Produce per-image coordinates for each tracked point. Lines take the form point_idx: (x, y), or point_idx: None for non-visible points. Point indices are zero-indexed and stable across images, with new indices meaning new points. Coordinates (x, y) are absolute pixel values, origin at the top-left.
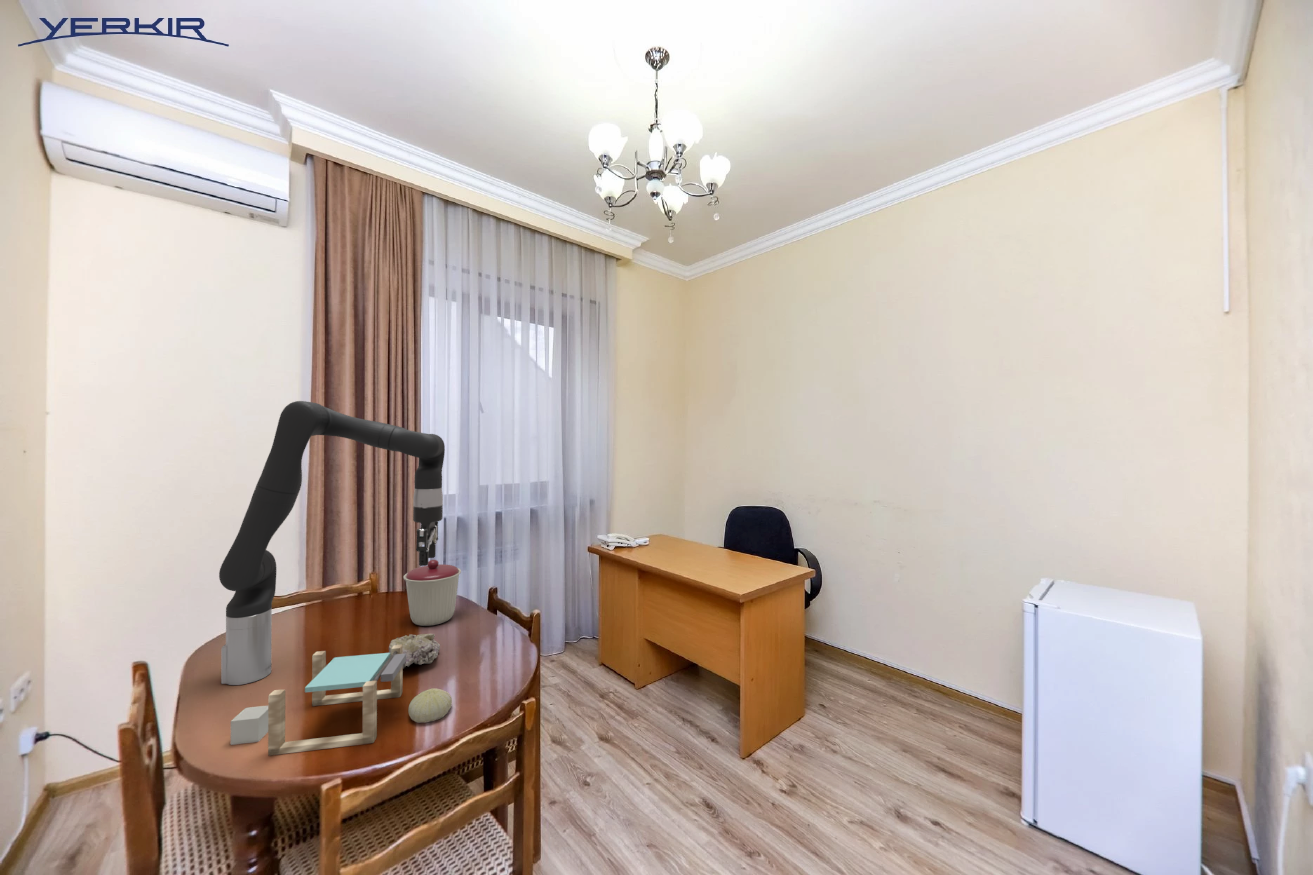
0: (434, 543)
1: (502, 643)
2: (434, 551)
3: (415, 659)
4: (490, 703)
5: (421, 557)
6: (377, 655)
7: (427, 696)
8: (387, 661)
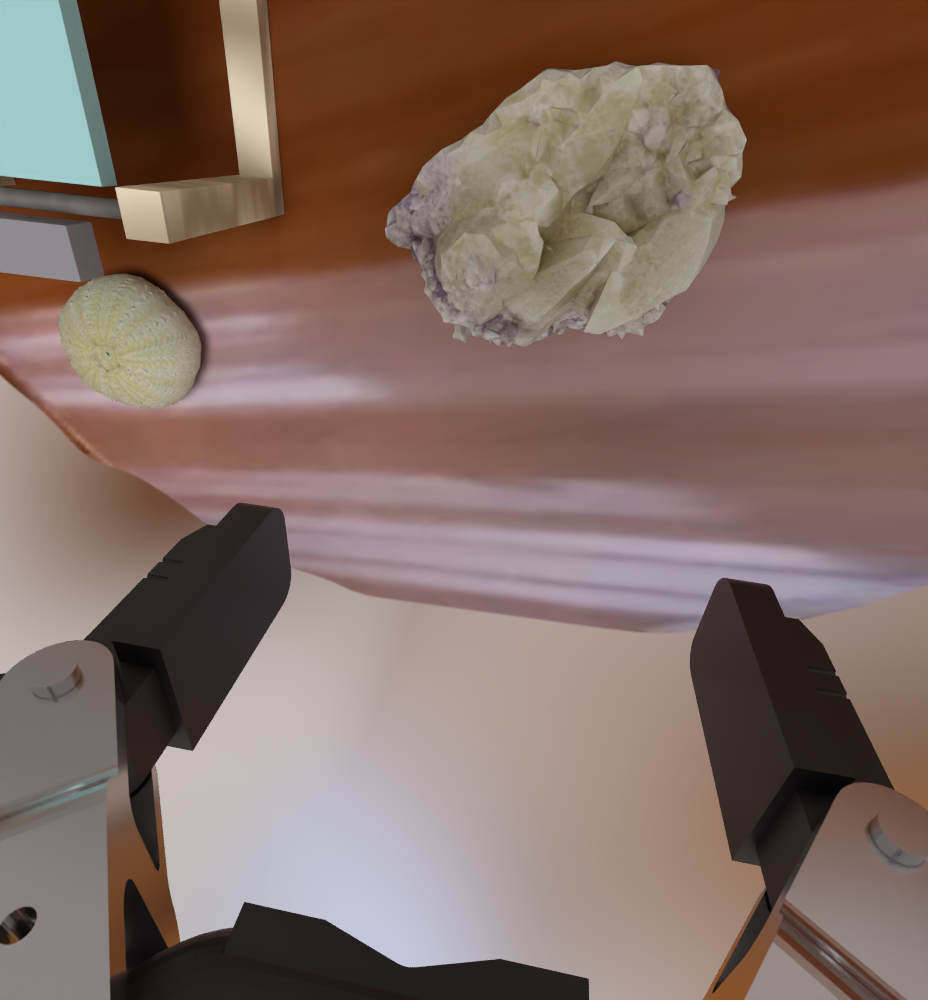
0: (766, 890)
1: (614, 553)
2: (704, 735)
3: (412, 253)
4: (200, 493)
5: (139, 607)
6: (63, 115)
7: (89, 349)
8: (13, 196)
